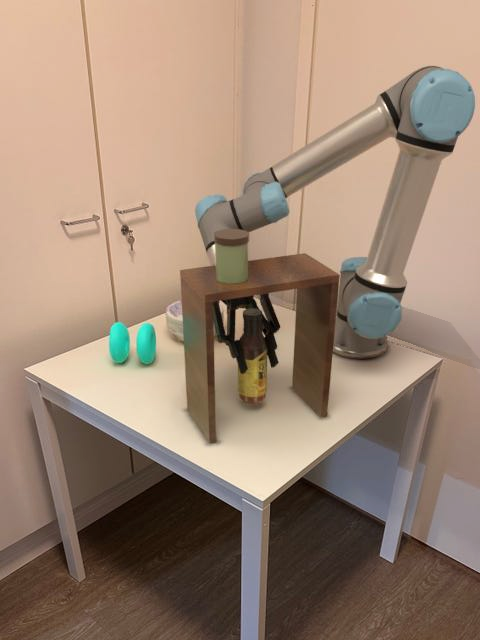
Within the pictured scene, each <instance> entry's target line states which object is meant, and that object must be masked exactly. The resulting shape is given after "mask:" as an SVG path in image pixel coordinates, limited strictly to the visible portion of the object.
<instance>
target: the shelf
mask: <svg viewBox="0 0 480 640" xmlns="http://www.w3.org/2000/svg"><path fill="white" fill-rule="evenodd" d="M340 275H341V274H340V273H339V272H336V271H334V270H333V269H331V268H330V267H329V266H327V265H325V264H323V263H322V262H320V261H319V260H318V259H315V258H314V257H312V256H310V255H309V254H308V253H305V252H304V253H296V254H287V255H282V256H274V257H267V258H259V259H252V260H248V279H247V280H246V281H245V282H242V283H237V284H227V283H222V282H219V281H217V280H216V270H215V265H214V266H210V265H207V266H200V267H199V266H198V267H192V268H185V269H180V270H179V277H180V278H179V279H180V295H181V297H180V298H181V300H182V316H183V335H184V342H183V352H184V353H183V354H184V372H185V390H186V405H187V406H186V409H187V413H188V414H189V415H190V416H191V418H192V420H193V421H194V422H195V424H196V425H197V427H198V429H199V430H200V432H201V433H202V435H203V436H204V437H205V439H206V441H207V442H208V444H214V443H217V417H216V416H217V414H216V376H215V375H216V370H215V336H214V324H213V302H215V301H220V302H222V301H221V300H228V299H234V298H240V297H247V296H253V295H254V296H257V295H260V294H266V293H269V294H271V293H272V294H273V293H279V292H285V291H291V290H296V301H295V302H296V303H295V304H296V305H295V323H294V341H293V359H292V378H291V379H292V380H291V389H292V390H293V391H294V392H295V393H296V394H297V395H298V396H299V397H300V398H301V399H302V400H303V401H304V402H305V404H307V405H308V406H309V407H310V408H311V409H312V410H313V411H314V412H315V414H316V415H318V416H319V417H320V418H326V417H328V411H329V400H330V398H329V397H330V388H331V377H332V367H333V366H332V365H333V354H334V352H333V344H334V333H335V322H336V317H337V308H338V297H339V286H340Z"/></svg>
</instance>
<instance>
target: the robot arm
mask: <svg viewBox="0 0 480 640" xmlns="http://www.w3.org/2000/svg"><path fill="white" fill-rule="evenodd" d="M475 108H476V96H475V92H474V89H473V86H472V85H471V83H470V82H469V80H467V78H465V76H464V75H462V74H461V73H459V72H458V71H456V70H453V69H451V68H443V67H441V66H437V65H427V66H422V67H420V68H418V69H415V70H414V71H412V72H410V73H409V74H408V75H406V76H405V77H404V78H402V79H401V80H399V81H398V82H397V83H395V84H393V85H391V86H390V87H389V88H388V89H386V90H384V91H383V92H381V93H379V94H378V95H377V97H376V99H375V102H374V103H373V104H371V105H369V106H368V107H366V108H365V109H362V110H361V111H360V112H358V113H357V114H355V115H353V116H351V117H350V118H348V119H347V120H345V121H344V122H342V123H340V124H338V125H337V126H335V127H334V128H332V129H330V130H329V131H327V132H326V133H324V134H322V135H321V136H319V137H317V138H316V139H314V140H312V141H311V142H309V143H308V144H306V145H304V146H303V147H301V148H300V149H297V150H296V151H295V152H293V153H291V154H289V155H288V156H287V157H285V158H283V159H281V160H280V161H278V162H277V163H275V164H273V165H272V166H271V167H268V168H266V169H265V170H264V171H262V172H256V173H254V174H253V173H252V174H251V175H250V176H249V177H248V178H247V180H246V181H245V183H244V185H243V188H242V195H240V196H238V197H236V198H234V199H231V200H227V197H225V196H224V195H222V194H219V193H217V194H214V195H207V196H205V197H203V198H201V199H200V200H199V201H198V202H197V203H196V205H195V208H194V213H195V217H196V221H197V228H198V230H199V233H200V236H201V239H202V243H203V245H204V249H205V252H206V256H207V260H208V263H209V266H214V265H215V242H214V233H215V232H216V231H219V230H223V229H240V230H245V231H247V232H249V233H251V232H253V231H256V230H259V229H262V228H264V227H266V226H269V225H271V224H276V223H277V222H279V221H281V220H283V219H284V218H286V217H289V215H290V208H289V204H288V201H287V198H289V197H291V196H292V195H294V194H296V193H297V192H299V191H301V190H302V189H304V188H306V187H308V186H309V185H311V184H313V183H314V182H316V181H317V180H320V179H321V178H323V177H324V176H327V175H328V174H330V173H331V172H333V171H335V170H337V169H338V168H340V167H341V166H343V165H345V164H347V163H348V162H350V161H352V160H353V159H355V158H357V157H359V156H360V155H363V154H364V153H365V152H368V151H369V150H370V149H373V148H374V147H376V146H378V145H379V144H381V143H383V142H384V141H386V140H387V139H389V138H392V139H395V142H396V145H397V146H398V149H399V151H398V153H397V157H396V162H395V164H394V165H395V166H394V167H393V171H392V174H391V178H390V181H389V184H388V187H387V191H386V194H385V198H384V201H383V204H382V207H381V211H380V213H379V216H378V217H379V218H378V220H377V224H376V227H375V230H374V234H373V237H372V241H371V243H370V246H369V250H368V253H367V256H355V257H354V256H353V257H349V258H346V259H344V260H343V261H342V263H341V267H340V270H339V275H340V277H339V288H338V299H337V310H336V322H335V333H334V344H333V354H336V355H338V356H341V357H344V358H348V359H354V360H355V359H356V360H357V359H358V360H368V359H374V358H378V357H380V356H382V355H384V354H385V352H386V351H387V347H388V336H389V335H390V334H391V333H394V331H395V330H396V329H397V328H398V327H399V325H400V323H401V321H402V318H403V317H402V316H403V307H402V305H401V303H402V300H403V297H404V294H405V292H406V288H407V285H408V280H407V279H406V276H405V275H404V272H405V270H406V268H407V267H406V266H407V264H408V260H409V258H410V255H411V252H412V249H413V246H414V243H415V240H416V237H417V234H418V231H419V229H420V225H421V223H422V219H423V217H424V215H425V214H424V213H425V211H426V208H427V205H428V202H429V199H430V196H431V194H432V191H433V187H434V184H435V181H436V179H437V176H438V172H439V170H440V166H441V165H442V161H443V160H444V159H446V158H447V157H449V156H451V155H452V154H453V153H454V150H455V147H456V143H457V141H458V139H459V136H460V135H462V134H463V133H464V131H466V129H467V128H468V127H469V126H470V124H471V121H472V120H473V117H474V114H475V110H476V109H475ZM254 297H255V295H253V296H247V297H240V298H234V299H228V300H221V301H215V302H213V322H214V327H215V331H216V334H215V337H216V340H217V343H218V344H225V345H226V346H227V347H228V349H229V353H230V356H231V358H232V359H236V362H237V367H238V366H239V369H240V373H241V374H244V373H245V372H246V371H247V370H248V367H247V364H246V361H245V357H244V354H243V351H242V347H241V344H240V341H239V339H236V318H237V317H236V315H237V314H236V313H237V310H239V309H244V310H246V309H251V308H255V309H259V310H261V309H260V307H259V306H258V302H257V301H256V300H255V299H256V298H254ZM256 297H257V299H258V300H259V301H260V306H261V308H262V314H263V318H262V333H263V336H264V339H265V342H266V345H267V360H268V361H269V364H270V368H275V367H277V365H278V364H279V359H278V356H277V353H276V350H277V349H278V343H277V340H276V337H275V334H277V333H278V331H280V329H281V323H280V321H279V318H278V316H277V314H276V310H275V308H274V305H273V303H272V301H271V299H270V293H266V294H260V295H256ZM220 303H223V304H224V305H225V306H226V330H225V325H223V320H222V315H221V311H220V306H219V304H220Z"/></svg>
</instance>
